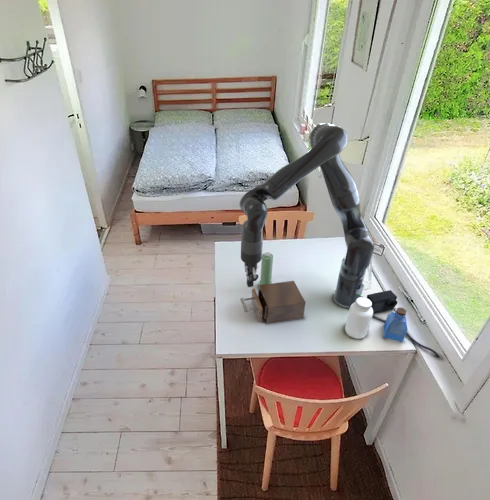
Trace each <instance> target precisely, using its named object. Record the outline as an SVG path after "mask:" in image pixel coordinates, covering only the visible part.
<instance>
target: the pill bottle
mask: <svg viewBox="0 0 490 500" xmlns="http://www.w3.org/2000/svg"><path fill="white" fill-rule="evenodd" d="M371 306H372V302H371V301H370V300H369V299H367V297H364V296H362V297H359V298H357V299H356V302H355V303H353V304H352V305H351V306H350V308H348V309H349V310H348V313H347V318H346V322H345V325H344V330H345V333H346V334H347V336H349V337H351V338H354V339H364V338H365V337H367V334H368V332H369V329H370V326H371V323H372V319H373V317H372V316H373V315H374V314H373V309H372V307H371Z"/></svg>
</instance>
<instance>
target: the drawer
mask: <svg viewBox="0 0 490 500" xmlns="http://www.w3.org/2000/svg"><path fill="white" fill-rule="evenodd" d="M246 301H250V302H251V304H252V308H248V307H247V303H246ZM240 303H241V306H242V308H243V312H244V313H247V312H251V311H254V313H255V315H256V317H257V320H258V322H259V323H260V322H261V323H262V321H263V319H264V320H266V319H267V312H268V307H267V304H266V302H265V299H264V297H263V295H262V292H261V290H260V289H259V288H258V290H257V291H256V289H255V288H251V296H250V297H240Z"/></svg>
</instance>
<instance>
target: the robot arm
mask: <svg viewBox="0 0 490 500" xmlns="http://www.w3.org/2000/svg"><path fill="white" fill-rule="evenodd" d="M308 138H309V140H308V141H309V145H310V148H311V149H310V150H308V151H307V152H305V153H304V154H303V155H302V156H300V157H299V158H296V159H295V160H293V161H291V162H289V163H287V164H286V165H284V166H282V167H281V168H279V169H278V170H276V172H275V173H273V174H272V175H271V176H270V177H269V178H268V179H267V180H265V182H263V183H261V184H259V185H257V186H255V187H254V188H251V189H250V190H248V191H247V192H246V193H244V194H243V196H242V197H241V198H240V200H239V205H238V206H239V209H240V210H241V211H242V212H243V214H244V215H246V217H247V219H246V220H244V222H243V223H242V227H241V240H240V260H241V261H242V262H243V264H244V272H245V276H246V285H247V287H248V288H252V287H254V283H255V282H256V281H257V280H258V279H259V277H260V276H259V274H258V273H257V270H258V264H259V263H261V262H262V254H263V234H264V232H263V228H264V227H265V224H266V220H267V219H268V213H269V211H268V206H267V203H265V201H267V200H272V201H278V200H279V199H280V198H281V197H283V196H284V195H285V194H286V193H287V192H288V191H289V190H291V188H293V187H294V186H295V185H296V184H297V183H298V182H300V181H301V180H302V179H304V178H305V177H306V176H307V175H310V174H311V173H312V172H314V171H315V170H317V169H318V168H319V167H320V170H321V173H322V177H323V180H324V183H325V186H326V190H327V193H328V195H329V199H330V202H331V205H332V207H333V209H334V211H335V213H336V214H337V216H338V217H339V220H340V222H341V227H342V230H343V237H344V242H345V246H346V253H345V256H344V257H343V258H342V260H341V264H340V269H339V272H338V278H337V282H336V286H335V290H334V295H333V301H334V303H335V304H336V305H338V306H339V307H342V308H345V309H350V306H351V305H352V304H353V303H355V302H356V299H357V298H359V297H363V291H364V287H365V284H363V283H364V279H365V275H366V272H367V269H368V268H369V266H370V264H371V261H372V258H373V255H374V252H375V243H374V239H373V238H372V235H371V233H370V230H369V229H368V227H367V225H366V223H365V220H364V218H363V215H362V205H361V204H362V203H361V197H360V194H359V190H358V187H357V183H356V181H355V179H354V178H353V176H352V174H351V172H350V171H349V169H348V168H347V166H346V165H345V163H344V162H343V161H342V157H341V156H340V153H342V151H343V150H344V149H345V148H346V147H347V143H348V134H347V132H346V130H345V129H344V128H343V127H341V126H337V125H335V124H330V123H325V122H324V123H318V124H316V125H314V127H313V128H312V129H311V130H310V133H309V137H308ZM372 319H375V320H377V321H379V322H382V323H385V321H386V319H382V318H380V317H377V316H375V315H374V314H373V316H372ZM405 337H407V338H408V339H409V340H411V341H412V342H413V343H415V345H417V346H419V347H420V348H423V349H425V350H428V351H430V352H432V353H433V354H434V355H435V356H436V358H438V359H440V358H441V357H440V355H439V354H438V352H437V351H436V350H434V348H431V347H429V346H426V345H423V344H421V343H420V342H418V341H417V340H416V339H414V338H413V337H412V336H411V335H410V334H409V333H408V332H406V335H405Z"/></svg>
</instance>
